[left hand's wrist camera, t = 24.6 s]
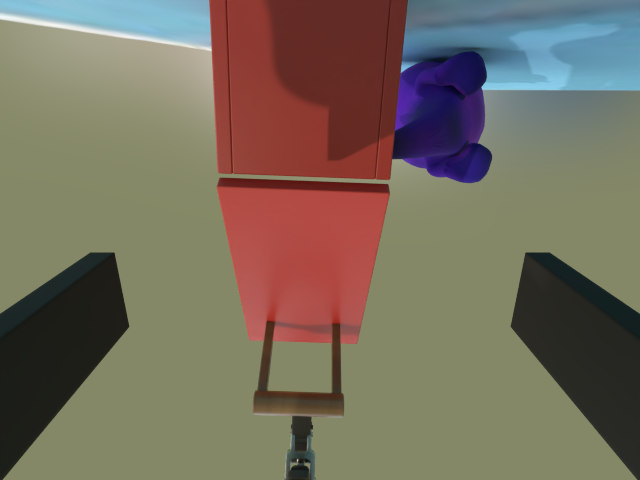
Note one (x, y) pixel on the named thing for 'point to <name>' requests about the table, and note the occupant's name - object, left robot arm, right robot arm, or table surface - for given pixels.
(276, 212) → the lid
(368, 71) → the chest
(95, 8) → the table surface
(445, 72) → the toy
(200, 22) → the table surface
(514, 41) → the table surface
